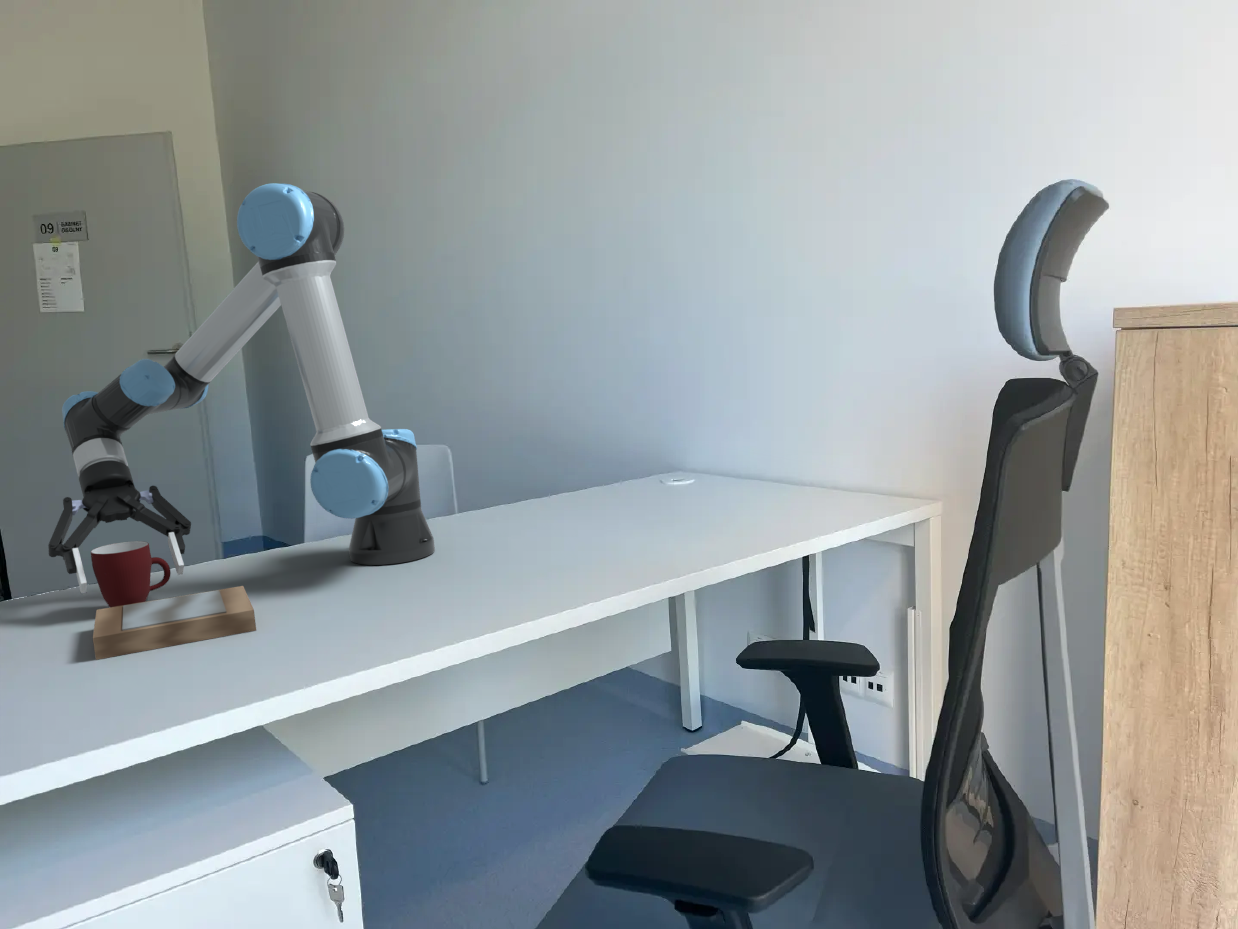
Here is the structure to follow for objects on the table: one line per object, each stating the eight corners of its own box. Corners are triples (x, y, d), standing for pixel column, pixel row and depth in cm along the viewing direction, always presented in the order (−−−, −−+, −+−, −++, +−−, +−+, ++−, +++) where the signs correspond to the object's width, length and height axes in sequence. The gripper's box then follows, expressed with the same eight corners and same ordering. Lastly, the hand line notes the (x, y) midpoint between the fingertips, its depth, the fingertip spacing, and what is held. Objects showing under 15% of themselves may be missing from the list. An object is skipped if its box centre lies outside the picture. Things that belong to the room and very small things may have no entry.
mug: (164, 595, 157) (156, 535, 155) (181, 604, 151) (172, 542, 149) (93, 611, 150) (84, 549, 149) (107, 621, 144) (98, 556, 143)
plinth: (245, 604, 149) (242, 584, 149) (256, 630, 136) (253, 608, 135) (99, 629, 140) (96, 608, 140) (95, 659, 127) (92, 636, 127)
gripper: (183, 476, 168) (216, 575, 158) (16, 498, 153) (40, 609, 144) (186, 448, 163) (220, 549, 153) (14, 469, 148) (39, 582, 139)
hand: (133, 579), depth 148 cm, fingers open, 13 cm apart
